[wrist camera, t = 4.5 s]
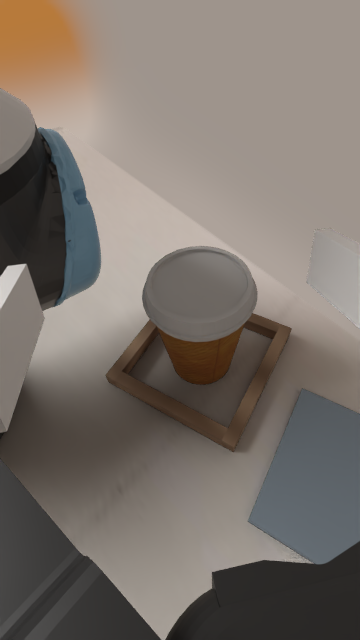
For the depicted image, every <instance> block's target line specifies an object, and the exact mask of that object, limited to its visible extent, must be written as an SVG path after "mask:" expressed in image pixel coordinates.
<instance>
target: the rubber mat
mask: <svg viewBox="0 0 360 640" xmlns="http://www.w3.org/2000/svg"><path fill="white" fill-rule="evenodd" d="M248 522H249V523H251V524H252V525H254V526H256V527H257V528H259V529H260V530H262V531H264V532H265V533H267V534H268V535H270V536H271V537H273V538H275V539H276V540H278V541H279V542H281V543H282V544H284V545H286V546H287V547H289V548H290V549H292V550H294V551H295V552H297V553H298V554H300V555H301V556H303V557H305V558H306V559H308V560H309V561H311V562H312V563H314V564H325V563H327V562H329V561H330V560H332V559H333V558H335V557H336V556H338V555H339V554H341V553H342V552H344V551H345V550H347V549H348V548H350V547H351V546H353V545H354V544H356V543H357V542H359V541H360V414H359V413H357V412H354V411H352V410H350V409H348V408H345V407H343V406H341V405H339V404H336V403H334V402H332V401H330V400H328V399H325V398H323V397H321V396H319V395H316V394H314V393H312V392H310V391H307V390H305V389H303V388H302V390H301V393H300V395H299V398H298V400H297V403H296V405H295V407H294V410H293V412H292V415H291V417H290V420H289V422H288V425H287V427H286V429H285V432H284V434H283V437H282V439H281V442H280V444H279V447H278V449H277V452H276V454H275V456H274V459H273V461H272V464H271V466H270V469H269V471H268V474H267V476H266V478H265V481H264V483H263V486H262V488H261V491H260V493H259V496H258V498H257V500H256V503H255V505H254V508H253V510H252V513H251V515H250V518H249V520H248Z"/></svg>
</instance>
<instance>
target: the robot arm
mask: <svg viewBox="0 0 360 640" xmlns="http://www.w3.org/2000/svg"><path fill="white" fill-rule="evenodd" d="M100 268H101V250H100V242H99V236H98V231H97V226H96V222H95V218H94V214H93V210H92V207H91V204H90V203H89V201H88V200H87V198H86V190H85V186H84V182H83V178H82V176H81V173H80V170H79V168H78V165H77V163H76V161H75V159H74V157H73V155H72V152H71V150H70V149H69V147H68V145H67V144H66V142H65V141H64V139H63V138H62V137H61V135H60V134H59V133H58V132H56V131H54V130H51V129H44V128H41V127H40V128H38V129H37V127H36V124H35V121H34V118H33V116H32V114H31V111H30V109H29V108H28V107H27V106H26V104H24V103H23V102H22V101H21V100H20V99H18V98H16V97H14V96H13V95H11V94H9V93H8V92H6V91H4V90H2V89H1V88H0V438H1V436H2V434H3V432H7V430H8V427H9V424H10V421H11V418H12V415H13V412H14V409H15V406H16V403H17V400H18V397H19V394H20V391H21V388H22V385H23V382H24V379H25V376H26V373H27V370H28V367H29V364H30V361H31V358H32V355H33V352H34V349H35V346H36V343H37V340H38V337H39V334H40V331H41V328H42V324H43V321H44V315H43V312H42V311H44V310H46V309H48V308H51V307H55V306H58V305H60V304H61V303H63V301H64V300H66V299H68V298H70V297H72V296H74V295H76V294H78V293H80V292H82V291H84V290H86V289H88V288H89V287H90V286H92V285H93V284H94V283H95V281H96V280H97V278H98V276H99V273H100ZM307 283H308V284H309V285H310V286H311V287H312V288H313V289H315V290H316V291H317V292H318V293H319V294H320V295H322V296H323V297H324V298H325V299H326V300H327V301H328V302H329V303H331V304H332V305H333V306H334V307H335V308H336V309H337V310H339V311H340V312H341V313H342V314H343V315H344V316H346V317H347V318H348V319H349V320H350V321H351V322H352V323H354V324H355V325H356V326H357V327H358V328H359V329H360V243H358V242H356V241H354V240H352V239H350V238H348V237H347V236H345V235H343V234H341V233H339V232H337V231H335V230H333V229H331V228H324V229H317V230H315V233H314V239H313V245H312V251H311V257H310V264H309V270H308V276H307ZM0 640H161V639H160V638H159V637H158V636H157V634H156V633H155V632H154V631H153V630H152V629H151V627H150V626H149V625H148V624H147V623H146V622H145V620H144V619H143V618H142V617H141V616H140V615H139V613H138V612H137V611H136V610H135V609H134V608H133V606H132V605H131V604H130V603H129V602H128V601H127V599H126V598H125V597H124V596H123V595H122V594H121V592H120V591H119V590H118V589H117V588H116V587H115V586H114V584H113V583H112V582H111V581H110V580H109V579H108V577H107V576H106V575H105V574H104V573H103V572H102V570H101V569H100V568H99V567H98V566H97V565H96V564H95V563H94V562H93V561H92V560H91V559H90V558H89V557H88V556H83V555H82V554H81V553H80V552H79V551H78V550H77V549H76V548H75V546H74V545H73V544H72V543H71V542H70V541H69V539H68V538H67V537H66V536H65V535H64V533H63V532H62V531H61V530H60V529H59V528H58V526H57V525H56V524H55V523H54V522H53V520H52V519H51V518H50V517H49V516H48V514H47V513H46V512H45V511H44V510H43V509H42V507H41V506H40V505H39V504H38V503H37V501H36V500H35V499H34V498H33V497H32V496H31V494H30V493H29V492H28V491H27V490H26V488H25V487H24V486H23V485H22V484H21V482H20V481H19V480H18V479H17V478H16V477H15V475H14V474H13V473H12V472H11V471H10V469H9V468H8V467H7V466H6V465H5V464H4V462H3V461H2V460H1V459H0ZM166 640H360V541H359V542H357V543H356V544H354V545H353V546H351V547H350V548H348V549H347V550H345V551H344V552H342V553H341V554H339V555H338V556H336V557H335V558H333V559H332V560H330V561H329V562H327V563H325V564H308V563H295V562H282V561H269V560H263V561H258V562H254V563H250V564H245V565H241V566H237V567H233V568H228V569H224V570H220V571H215V572H212V589H210V590H209V591H207V592H206V593H204V594H203V595H201V596H200V597H199V598H198V599H197V600H195V601H194V602H193V603H192V604H191V605H190V606H189V607H188V608H187V609H186V610H185V611H184V613H183V614H182V615H181V616H180V617H179V619H178V620H177V622H176V623H175V624H174V626H173V627H172V629H171V630H170V632H169V634H168V636H167V638H166Z"/></svg>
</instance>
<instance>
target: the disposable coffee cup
mask: <svg viewBox="0 0 360 640" xmlns="http://www.w3.org/2000/svg"><path fill="white" fill-rule="evenodd" d="M142 301H143V306H144V309H145V311H146V314H147V315H148V317H149V318H150V320H151V321H152V322H153V323H154V324H155V325H156V327H157V328H158V331H159V333H160V336H161V338H162V340H163V342H164V345H165V347H166V349H167V352H168V354H169V356H170V359H171V361H172V363H173V366H174V368H175V371H176V372H177V373H178V375H179V376H180V377H181V378H183V379H184V380H186V381H188V382H190V383H193V384H200V385H202V384H210V383H213V382H215V381H217V380H219V379H221V378H222V377H223V376H224V375H225V374H226V372H227V371H228V369H229V366H230V363H231V360H232V357H233V355H234V352H235V349H236V346H237V344H238V341H239V338H240V335H241V332H242V329H243V326H244V324H245V322H246V321H247V320H248V319H249V317H250V316H251V315H252V312H253V310H254V308H255V306H256V302H257V288H256V284H255V282H254V280H253V278H252V275H251V273H250V271H249V269H248V267H247V265H246V264H245V263H244V262H243V261H242V260H241V259H239V258H238V257H237V256H236V255H234V254H232V253H230V252H228V251H225V250H222V249H219V248H214V247H206V246H196V247H188V248H183V249H179V250H176V251H174V252H172V253H170V254H168V255H166V256H164V257H163V258H162V259H161V260H159V261H158V262H157V263H156V264H155V265H154V266H153V268H152V269H151V270H150V272H149V274H148V277H147V281H146V283H145V286H144V289H143V295H142Z"/></svg>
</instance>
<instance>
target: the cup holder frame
mask: <svg viewBox="0 0 360 640" xmlns="http://www.w3.org/2000/svg"><path fill="white" fill-rule="evenodd" d="M243 327H244V328H247V329H249V330H252V331H254V332H257V333H259V334H262V335H264V336H266V337H269V338H271V339H273V341H272V343H271V345H270V347H269V349H268V350H267V352H266V354H265V356H264V358H263V360H262V362H261V364H260V366H259V368H258V370H257V372H256V374H255V376H254V378H253V380H252V382H251V384H250V386H249V388H248V390H247V392H246V394H245V396H244V398H243V399H242V401H241V403H240V405H239V407H238V409H237V411H236V413H235V415H234V417H233V419H232V421H231V423H230V425H229V427H228V428H227V427H225V426H223V425H221V424H219V423H217V422H215V421H213V420H212V419H210V418H208V417H206V416H204V415H202V414H200V413H199V412H197V411H195V410H193V409H191V408H189V407H187V406H186V405H184V404H182V403H180V402H178V401H176V400H174V399H172V398H171V397H169V396H167V395H165V394H163V393H161V392H159V391H158V390H156V389H154V388H152V387H150V386H148V385H146V384H144V383H143V382H141V381H139V380H137V379H135V378H133V377H131V376H130V375H128V373H129V372H130V370H131V369H132V368H133V366H134V365H135V364H136V362H137V361H138V360H139V359H140V357H141V356H142V355H143V353H144V352H145V351H146V349H147V348H148V347H149V345H150V344H151V343H152V341H153V340H154V339H155V337H156V336H157V335H158V333H159V331H158V328H157V327H156V325H155V324H154V323H153V322H152V321H151V320H149V321H148V323H147V324H146V325H145V326H144V328H143V329H142V330H141V331H140V333H139V334H138V335H137V336H136V338H135V339H134V340H133V341H132V343H131V344H130V345H129V346H128V348H127V349H126V350H125V351H124V353H123V354H122V355H121V356H120V358H119V359H118V360H117V361H116V363H115V364H114V365H113V366H112V368H111V369H110V370H109V371H108V373H107V374H106V375H105V376H106V378H107V380H108V382H109V383H111V384H113V385H115V386H117V387H118V388H120V389H122V390H124V391H125V392H127V393H129V394H131V395H133V396H134V397H136V398H138V399H140V400H141V401H143V402H145V403H147V404H149V405H150V406H152V407H154V408H156V409H157V410H159V411H161V412H163V413H165V414H166V415H168V416H170V417H172V418H174V419H175V420H177V421H179V422H181V423H182V424H184V425H186V426H188V427H190V428H191V429H193V430H195V431H197V432H198V433H200V434H202V435H204V436H206V437H207V438H209V439H211V440H213V441H214V442H216V443H218V444H220V445H222V446H223V447H225V448H227V449H229V450H231V451H232V452H234V450H235V448H236V446H237V443H238V441H239V439H240V437H241V435H242V433H243V431H244V429H245V427H246V425H247V423H248V421H249V418H250V416H251V414H252V412H253V410H254V408H255V406H256V404H257V402H258V400H259V398H260V396H261V394H262V391H263V389H264V387H265V385H266V383H267V381H268V379H269V377H270V375H271V373H272V371H273V369H274V366H275V364H276V362H277V360H278V358H279V356H280V354H281V352H282V350H283V348H284V346H285V344H286V341H287V339H288V337H289V335H290V332H291V329H292V328H290V327H287V326H284V325H282V324H279V323H277V322H274V321H272V320H269V319H266V318H264V317H261V316H259V315H256V314H253V313H252V315H251V316H250V317H249V319H248V320H247V321H246V322H245V324H244V326H243Z"/></svg>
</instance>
